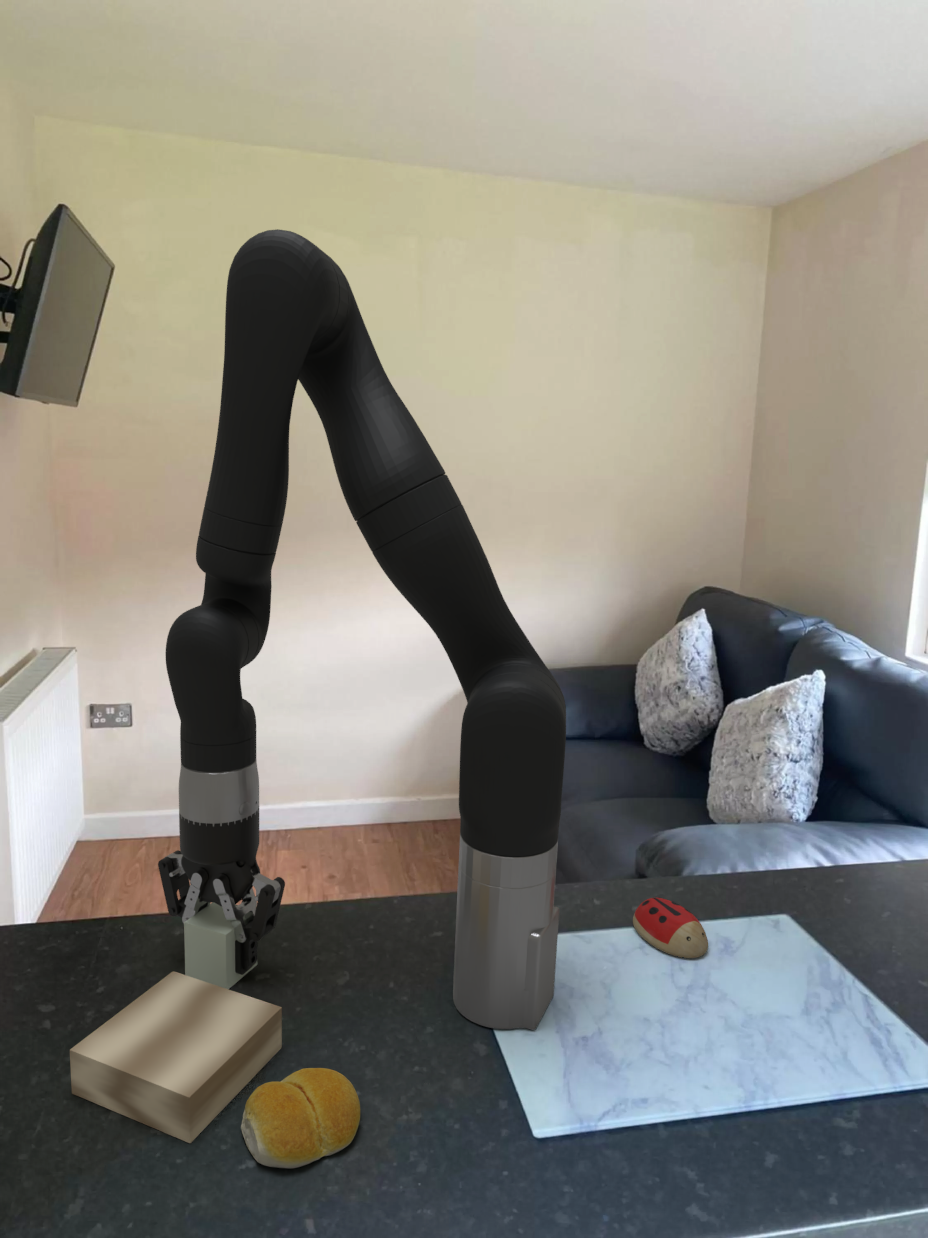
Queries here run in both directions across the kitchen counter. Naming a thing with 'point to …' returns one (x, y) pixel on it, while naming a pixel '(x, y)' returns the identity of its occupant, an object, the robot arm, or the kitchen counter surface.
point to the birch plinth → (177, 1054)
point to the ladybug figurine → (670, 928)
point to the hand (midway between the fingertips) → (221, 962)
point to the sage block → (211, 947)
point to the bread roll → (301, 1118)
